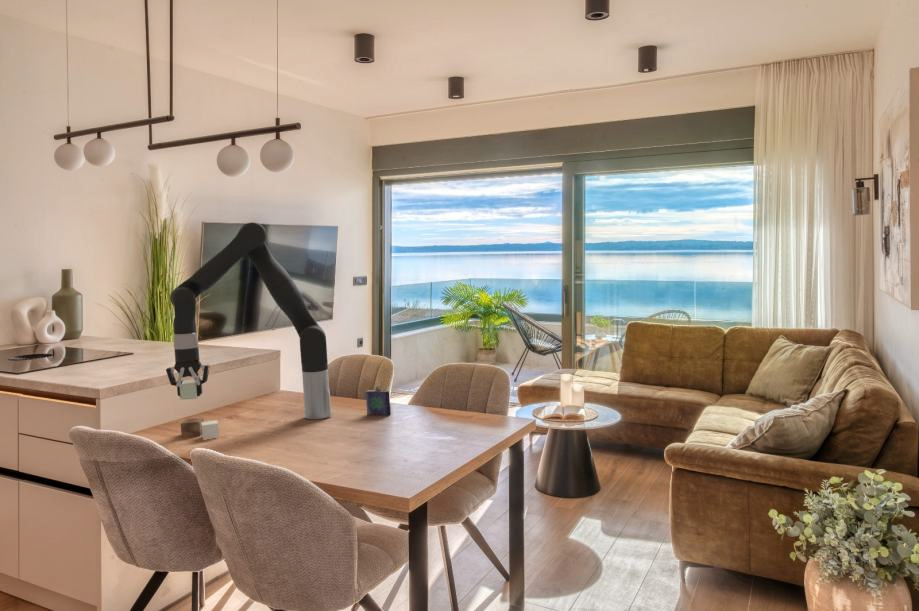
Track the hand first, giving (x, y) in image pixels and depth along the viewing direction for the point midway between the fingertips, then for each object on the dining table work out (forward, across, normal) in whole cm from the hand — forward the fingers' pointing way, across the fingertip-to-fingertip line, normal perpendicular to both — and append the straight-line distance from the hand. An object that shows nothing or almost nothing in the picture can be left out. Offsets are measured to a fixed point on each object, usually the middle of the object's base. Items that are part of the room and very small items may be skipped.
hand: (190, 396), depth 223 cm
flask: (+13, -63, -6) cm, 65 cm away
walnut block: (+13, 0, 0) cm, 13 cm away
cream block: (+13, -7, +6) cm, 16 cm away
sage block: (0, 0, 0) cm, 0 cm away
